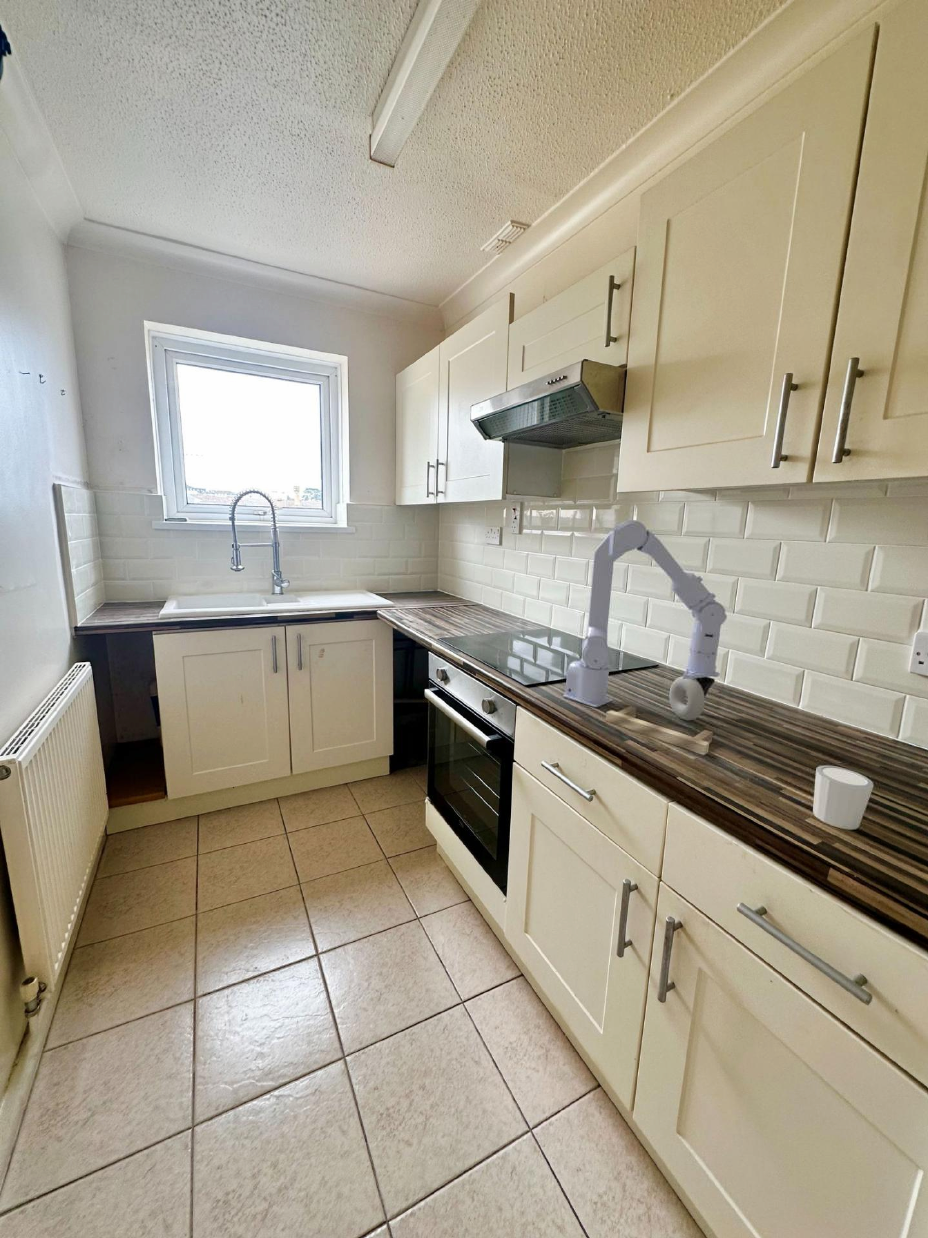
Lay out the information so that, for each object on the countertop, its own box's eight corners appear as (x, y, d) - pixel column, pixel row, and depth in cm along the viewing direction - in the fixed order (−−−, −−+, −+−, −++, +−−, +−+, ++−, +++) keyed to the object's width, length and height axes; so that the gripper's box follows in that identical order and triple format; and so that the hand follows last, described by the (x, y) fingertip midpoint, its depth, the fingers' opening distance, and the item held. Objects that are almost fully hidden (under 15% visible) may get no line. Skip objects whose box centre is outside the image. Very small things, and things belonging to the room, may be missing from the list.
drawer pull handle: (605, 720, 108) (606, 712, 108) (623, 712, 114) (624, 704, 113) (703, 755, 94) (705, 745, 93) (719, 744, 99) (720, 734, 99)
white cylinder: (872, 837, 70) (882, 792, 69) (815, 824, 72) (823, 781, 71) (854, 812, 76) (863, 770, 75) (802, 801, 79) (810, 761, 77)
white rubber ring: (704, 727, 107) (711, 683, 106) (691, 728, 107) (697, 684, 105) (676, 710, 117) (681, 670, 115) (663, 711, 116) (668, 670, 114)
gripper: (709, 659, 106) (700, 719, 108) (732, 650, 116) (724, 705, 118) (676, 652, 111) (669, 709, 113) (701, 644, 121) (694, 697, 123)
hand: (695, 707), depth 116 cm, fingers closed
